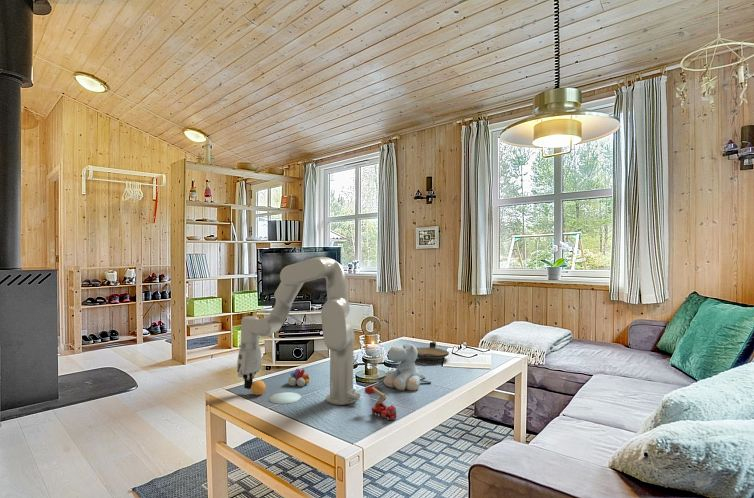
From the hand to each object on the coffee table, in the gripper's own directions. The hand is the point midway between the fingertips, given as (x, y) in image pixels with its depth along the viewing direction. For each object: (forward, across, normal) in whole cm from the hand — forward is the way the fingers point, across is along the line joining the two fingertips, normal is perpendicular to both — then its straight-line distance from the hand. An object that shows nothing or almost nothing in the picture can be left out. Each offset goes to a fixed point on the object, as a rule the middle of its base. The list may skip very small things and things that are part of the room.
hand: (248, 388), depth 179 cm
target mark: (+2, +4, -17) cm, 18 cm away
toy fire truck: (+1, +10, -60) cm, 61 cm away
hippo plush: (+1, +49, -51) cm, 71 cm away
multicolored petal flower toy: (+2, +21, -10) cm, 23 cm away
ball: (-1, +2, -4) cm, 5 cm away
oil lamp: (0, +96, -42) cm, 105 cm away
